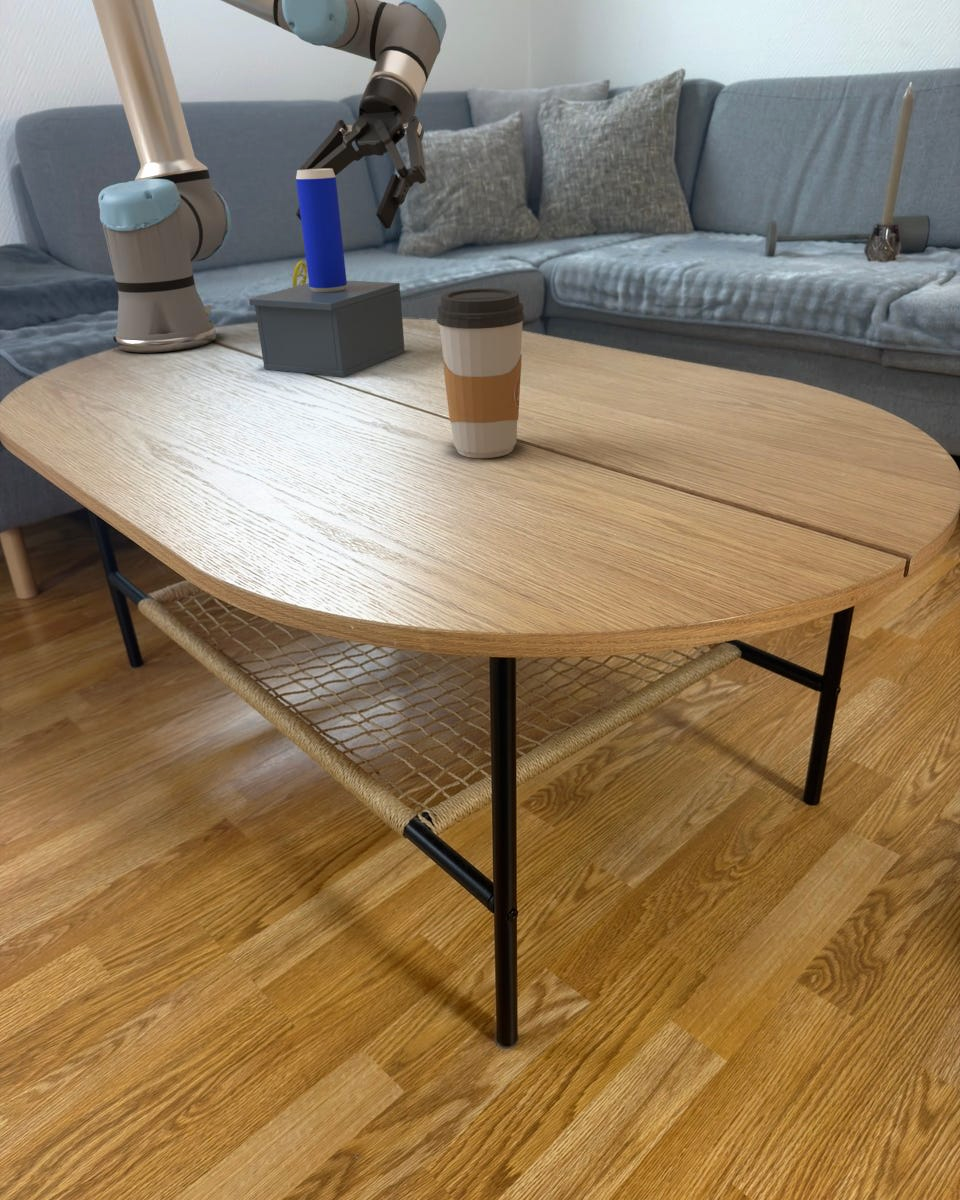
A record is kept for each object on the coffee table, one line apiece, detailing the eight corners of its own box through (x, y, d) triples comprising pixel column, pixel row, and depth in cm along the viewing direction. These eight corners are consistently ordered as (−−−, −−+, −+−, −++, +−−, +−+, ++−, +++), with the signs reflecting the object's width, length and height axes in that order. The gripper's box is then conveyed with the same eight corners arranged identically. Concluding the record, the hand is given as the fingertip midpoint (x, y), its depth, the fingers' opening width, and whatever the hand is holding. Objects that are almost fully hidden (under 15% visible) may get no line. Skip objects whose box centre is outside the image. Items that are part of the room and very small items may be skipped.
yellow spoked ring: (302, 362, 147) (261, 323, 139) (291, 360, 149) (250, 321, 141) (341, 300, 149) (304, 259, 141) (330, 299, 151) (292, 257, 143)
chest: (343, 377, 116) (335, 309, 112) (264, 369, 122) (254, 304, 118) (404, 351, 128) (400, 289, 124) (330, 345, 134) (323, 285, 130)
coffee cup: (527, 461, 84) (525, 301, 77) (441, 463, 85) (432, 304, 78) (524, 434, 92) (523, 285, 85) (446, 436, 92) (438, 288, 85)
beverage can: (354, 287, 122) (342, 168, 114) (334, 293, 117) (320, 170, 110) (323, 286, 124) (309, 168, 116) (302, 292, 119) (286, 171, 112)
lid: (331, 310, 111) (330, 303, 111) (249, 305, 117) (248, 298, 117) (400, 289, 124) (399, 282, 124) (323, 285, 130) (322, 279, 129)
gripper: (477, 114, 123) (430, 241, 118) (334, 121, 133) (286, 238, 129) (457, 69, 116) (406, 201, 112) (308, 80, 127) (257, 202, 122)
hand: (342, 221), depth 120 cm, fingers open, 13 cm apart
